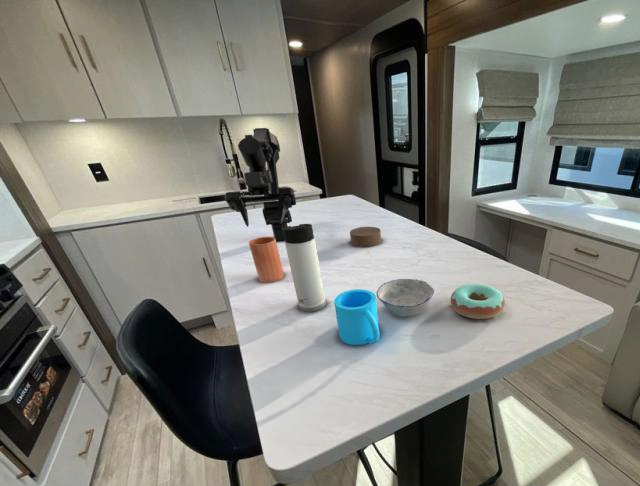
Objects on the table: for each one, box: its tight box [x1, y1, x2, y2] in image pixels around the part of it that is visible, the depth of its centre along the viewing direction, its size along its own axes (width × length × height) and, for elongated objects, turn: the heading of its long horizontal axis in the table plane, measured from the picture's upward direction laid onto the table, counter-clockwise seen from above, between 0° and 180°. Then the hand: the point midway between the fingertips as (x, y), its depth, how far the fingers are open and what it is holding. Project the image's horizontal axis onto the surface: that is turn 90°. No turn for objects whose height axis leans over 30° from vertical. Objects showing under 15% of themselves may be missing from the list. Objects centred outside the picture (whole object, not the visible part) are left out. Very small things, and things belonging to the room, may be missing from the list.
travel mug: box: [282, 223, 326, 313], centre depth 72 cm, size 6×7×20 cm
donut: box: [450, 283, 506, 320], centre depth 72 cm, size 12×12×4 cm
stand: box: [349, 226, 382, 248], centre depth 115 cm, size 11×11×4 cm
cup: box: [248, 236, 285, 283], centre depth 89 cm, size 7×7×11 cm
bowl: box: [376, 278, 435, 318], centre depth 73 cm, size 13×13×5 cm
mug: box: [333, 288, 381, 346], centre depth 63 cm, size 12×8×8 cm
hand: (264, 224), depth 92 cm, fingers open, 9 cm apart
